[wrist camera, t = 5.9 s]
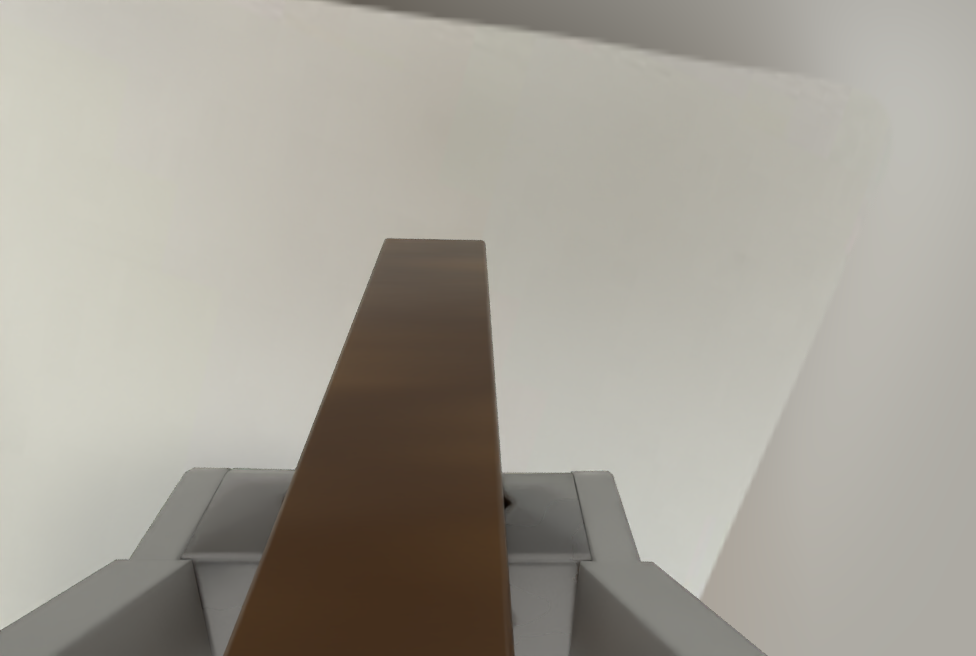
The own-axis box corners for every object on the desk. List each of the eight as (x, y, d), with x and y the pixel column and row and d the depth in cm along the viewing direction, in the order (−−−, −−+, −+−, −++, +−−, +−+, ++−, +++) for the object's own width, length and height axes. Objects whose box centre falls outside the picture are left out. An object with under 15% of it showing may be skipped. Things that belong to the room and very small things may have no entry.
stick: (485, 239, 16) (556, 1198, 3) (482, 330, 17) (526, 1334, 4) (384, 237, 15) (-3, 1213, 3) (387, 329, 16) (115, 1351, 4)
